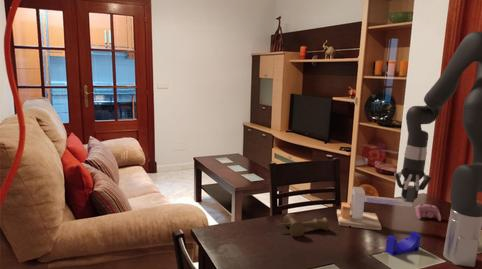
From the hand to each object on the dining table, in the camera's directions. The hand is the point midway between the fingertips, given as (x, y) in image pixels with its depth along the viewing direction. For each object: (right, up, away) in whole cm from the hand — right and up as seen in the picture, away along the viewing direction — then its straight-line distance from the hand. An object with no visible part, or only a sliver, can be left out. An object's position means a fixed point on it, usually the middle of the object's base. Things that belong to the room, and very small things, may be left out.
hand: (409, 198), depth 140 cm
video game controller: (+13, -11, +11) cm, 21 cm away
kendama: (-44, -12, -5) cm, 46 cm away
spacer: (-24, -9, +6) cm, 26 cm away
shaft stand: (-19, -10, +5) cm, 22 cm away
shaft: (-7, -2, +2) cm, 8 cm away
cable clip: (-11, -16, -16) cm, 25 cm away
